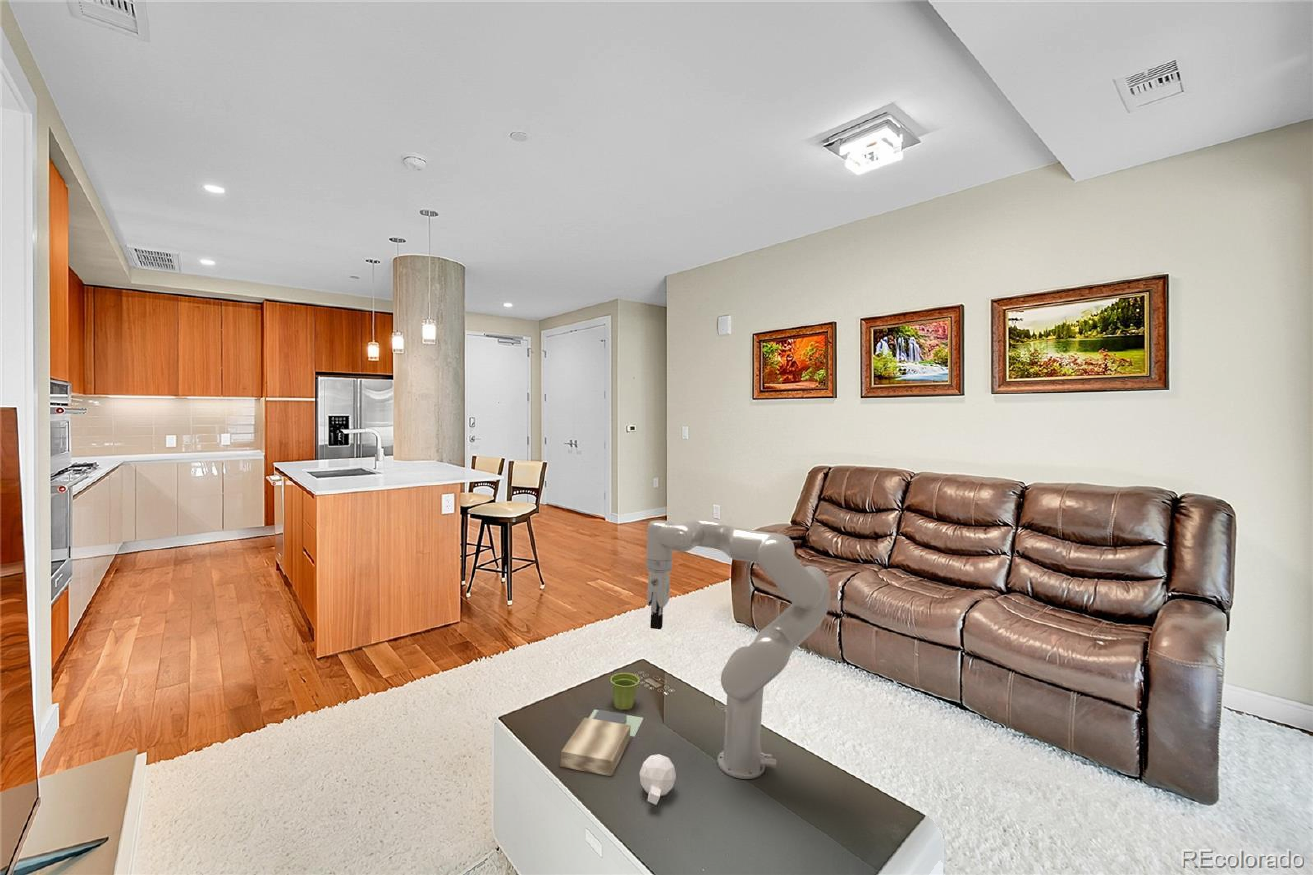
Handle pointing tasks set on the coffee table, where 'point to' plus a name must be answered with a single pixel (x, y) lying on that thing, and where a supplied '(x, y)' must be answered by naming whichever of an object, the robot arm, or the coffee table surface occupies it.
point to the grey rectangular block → (611, 717)
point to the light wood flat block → (596, 746)
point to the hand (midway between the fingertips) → (656, 627)
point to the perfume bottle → (657, 776)
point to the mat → (627, 722)
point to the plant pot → (624, 690)
